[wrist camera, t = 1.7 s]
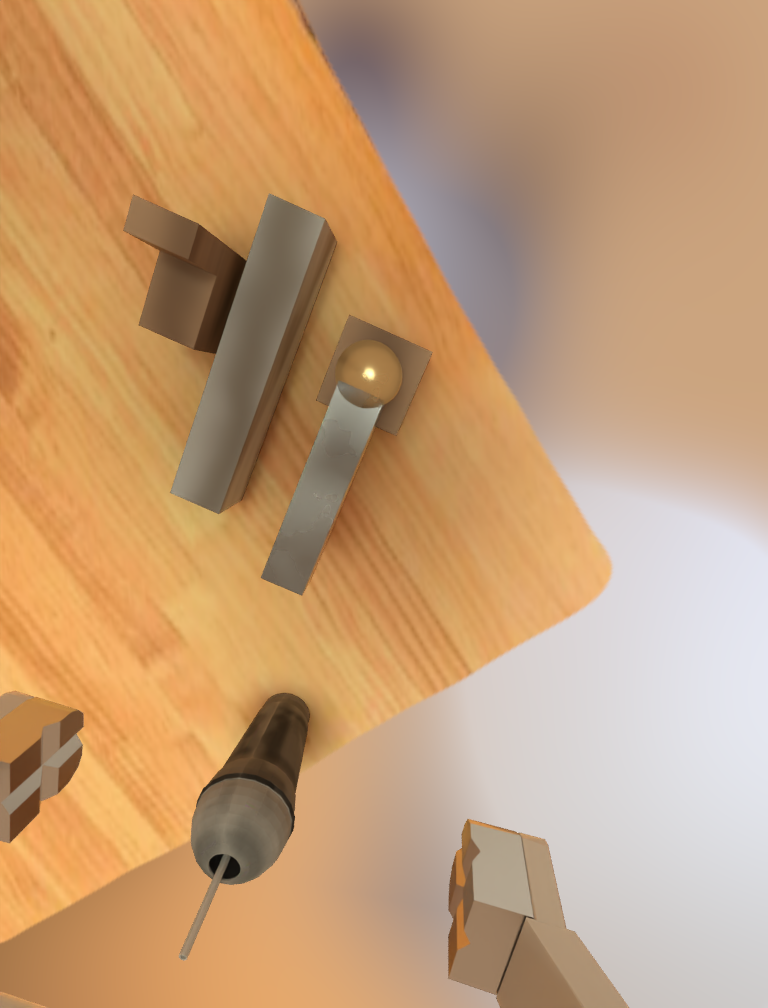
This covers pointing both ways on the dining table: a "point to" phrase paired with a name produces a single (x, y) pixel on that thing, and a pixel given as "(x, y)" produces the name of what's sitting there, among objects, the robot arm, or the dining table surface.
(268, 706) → the beverage cup
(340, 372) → the bar
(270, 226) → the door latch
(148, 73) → the dining table surface
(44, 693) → the dining table surface
